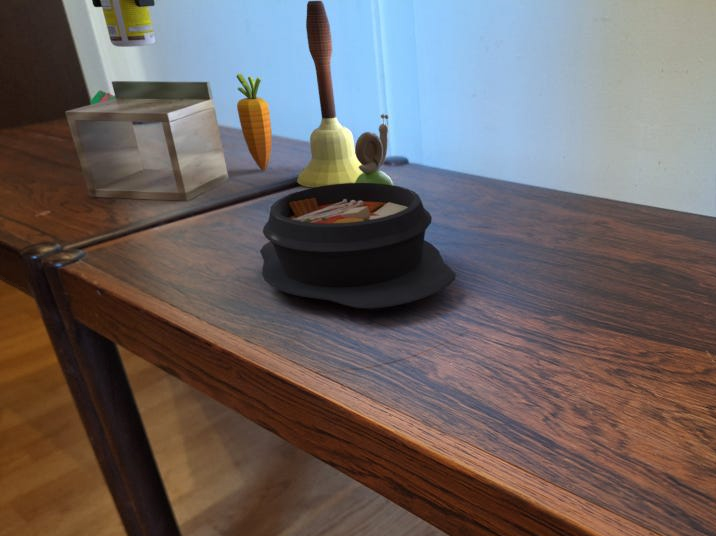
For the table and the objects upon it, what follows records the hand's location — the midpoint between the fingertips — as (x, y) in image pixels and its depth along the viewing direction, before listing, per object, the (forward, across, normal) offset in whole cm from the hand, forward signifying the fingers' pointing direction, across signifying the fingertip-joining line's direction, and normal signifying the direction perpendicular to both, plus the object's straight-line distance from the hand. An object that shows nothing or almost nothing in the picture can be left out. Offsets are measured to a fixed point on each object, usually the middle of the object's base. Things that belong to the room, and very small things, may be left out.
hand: (124, 4), depth 92 cm
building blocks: (+25, -45, +51) cm, 73 cm away
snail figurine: (+25, +34, -2) cm, 42 cm away
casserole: (+25, +40, -26) cm, 54 cm away
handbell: (+25, +22, +12) cm, 36 cm away
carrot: (+25, +8, +15) cm, 31 cm away
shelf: (+25, -3, +3) cm, 26 cm away
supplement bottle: (+5, 0, 0) cm, 5 cm away
